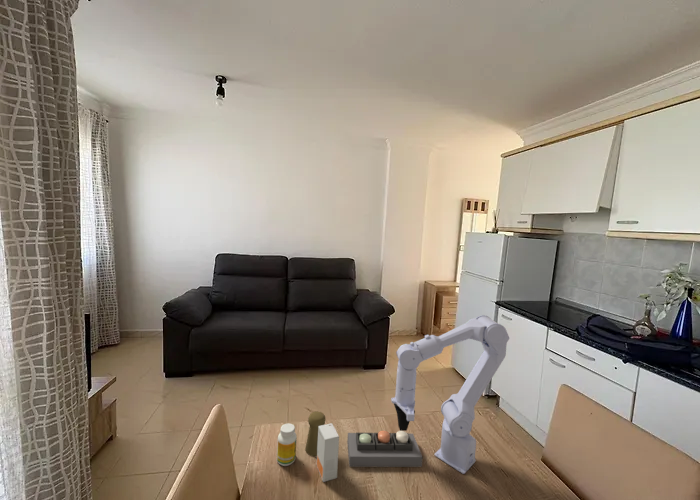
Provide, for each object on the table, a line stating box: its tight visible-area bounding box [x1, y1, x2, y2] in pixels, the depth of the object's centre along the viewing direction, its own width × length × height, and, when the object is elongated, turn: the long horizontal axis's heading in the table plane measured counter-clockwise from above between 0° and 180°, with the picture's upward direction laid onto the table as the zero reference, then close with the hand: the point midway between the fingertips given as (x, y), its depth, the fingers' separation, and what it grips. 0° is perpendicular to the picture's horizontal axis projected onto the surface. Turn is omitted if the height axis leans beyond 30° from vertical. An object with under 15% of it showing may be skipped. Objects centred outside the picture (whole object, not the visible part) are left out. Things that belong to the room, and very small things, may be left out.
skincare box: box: [315, 422, 340, 483], centre depth 82 cm, size 6×4×12 cm
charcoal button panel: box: [346, 432, 423, 468], centre depth 91 cm, size 21×10×5 cm, turn 94°
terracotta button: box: [377, 430, 390, 444], centre depth 91 cm, size 4×4×2 cm
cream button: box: [395, 430, 409, 444], centre depth 91 cm, size 4×4×2 cm
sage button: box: [359, 434, 371, 443], centre depth 90 cm, size 4×4×2 cm
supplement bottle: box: [276, 422, 298, 467], centre depth 86 cm, size 5×5×10 cm
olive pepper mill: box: [304, 410, 326, 457], centre depth 91 cm, size 6×6×11 cm
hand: (402, 429), depth 91 cm, fingers closed
